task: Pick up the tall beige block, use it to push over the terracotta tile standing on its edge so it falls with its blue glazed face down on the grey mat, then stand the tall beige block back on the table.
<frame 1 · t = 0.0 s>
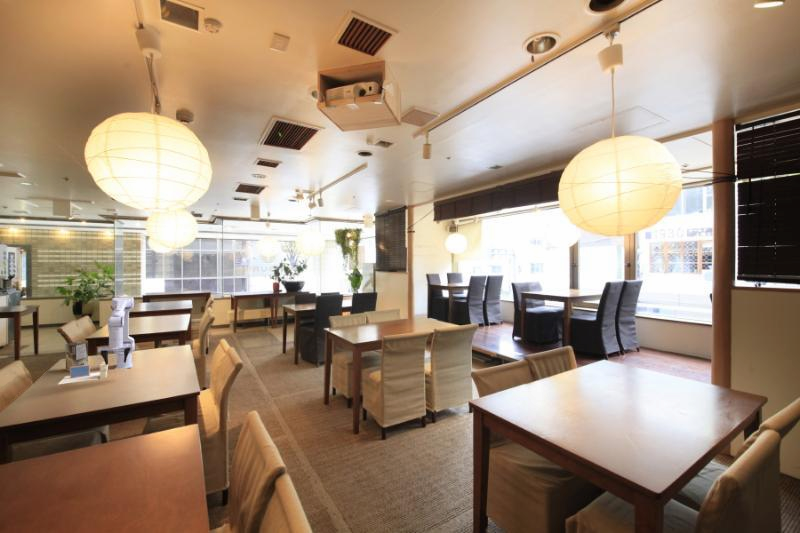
hand: (116, 363, 183), 10 cm above the table, fingers open, 7 cm apart
mat: (81, 378, 187), on the table
tall beige block: (103, 377, 190), on the table
coffee box: (76, 370, 201), on the table
tile: (80, 376, 189), resting on mat
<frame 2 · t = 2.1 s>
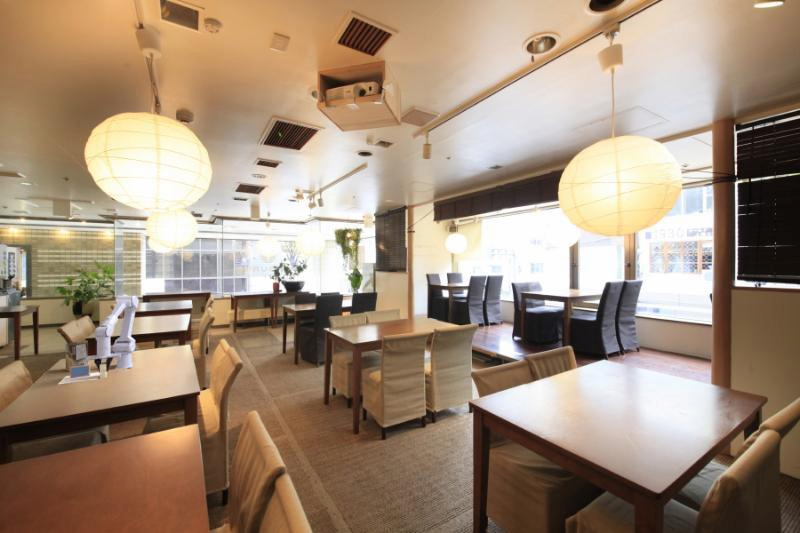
hand: (103, 371, 190), 3 cm above the table, fingers closed on tall beige block, 2 cm apart
tall beige block: (103, 377, 190), on the table, touching gripper
everything else where it was.
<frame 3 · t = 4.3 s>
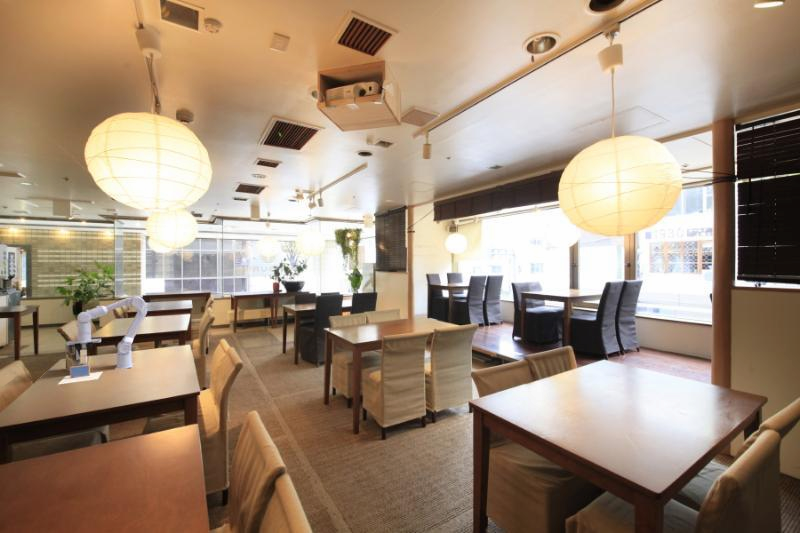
hand: (84, 356, 195), 10 cm above the table, fingers closed on tall beige block, 2 cm apart
tall beige block: (84, 362, 195), point 6 cm above the table, touching gripper
everything else where it was.
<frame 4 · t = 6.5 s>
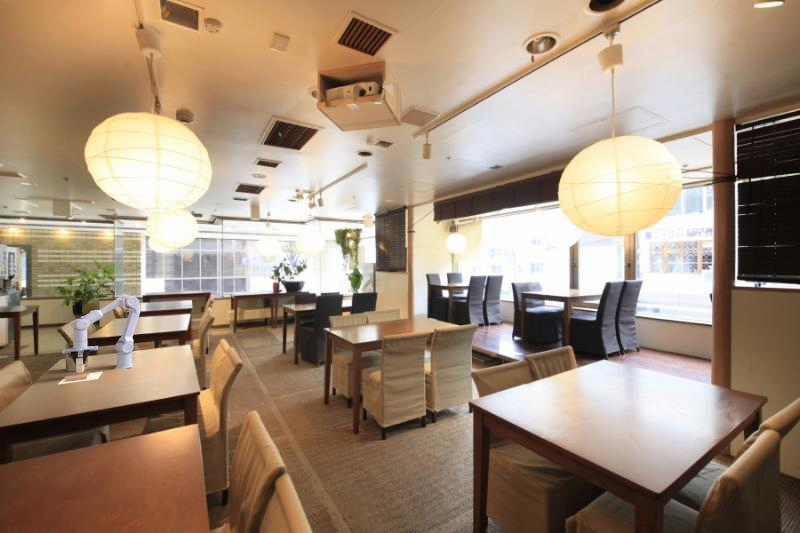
hand: (80, 364, 189), 7 cm above the table, fingers closed on tall beige block, 2 cm apart
tall beige block: (80, 371, 190), point 3 cm above the table, touching gripper
tile: (79, 374, 188), point 2 cm above the table, tilted 90°, touching mat
everything else where it was.
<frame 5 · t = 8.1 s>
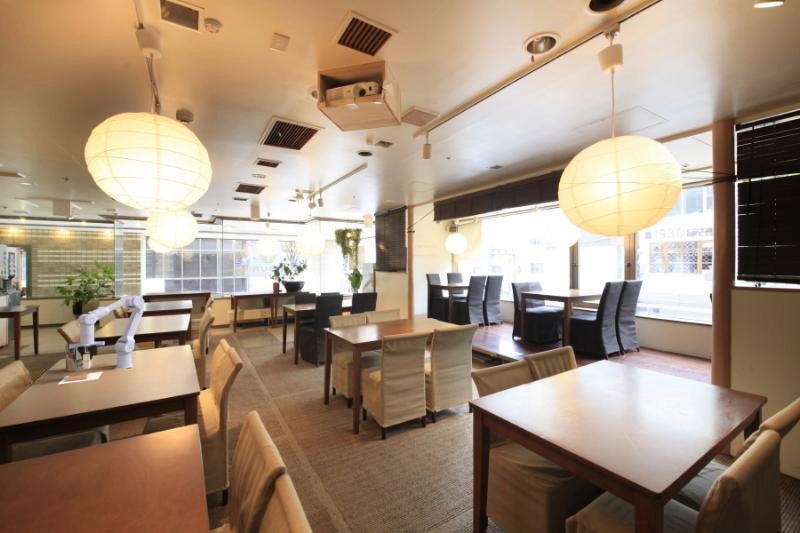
hand: (87, 359, 189), 10 cm above the table, fingers closed on tall beige block, 2 cm apart
tall beige block: (87, 367, 190), point 5 cm above the table, touching gripper
everything else where it was.
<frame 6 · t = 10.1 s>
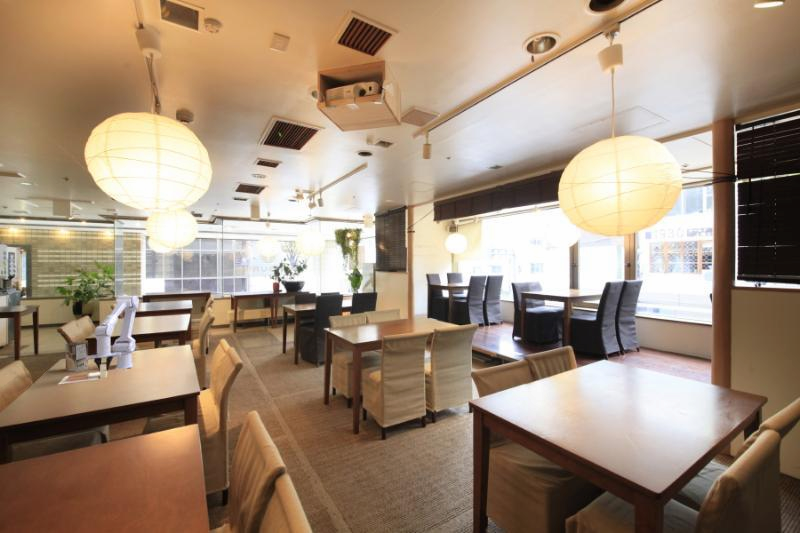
hand: (103, 370, 190), 4 cm above the table, fingers closed on tall beige block, 2 cm apart
tall beige block: (104, 376, 191), on the table, touching gripper
everything else where it was.
when the fingers open (4 cm above the table, at t = 10.1 s): tall beige block stays where it is, on the table.
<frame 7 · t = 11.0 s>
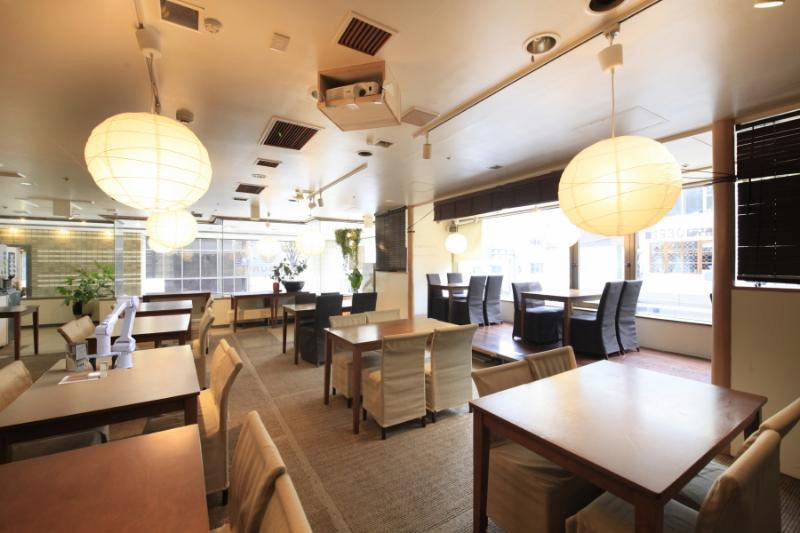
hand: (104, 369, 190), 4 cm above the table, fingers open, 7 cm apart
tall beige block: (104, 376, 191), on the table
everything else where it was.
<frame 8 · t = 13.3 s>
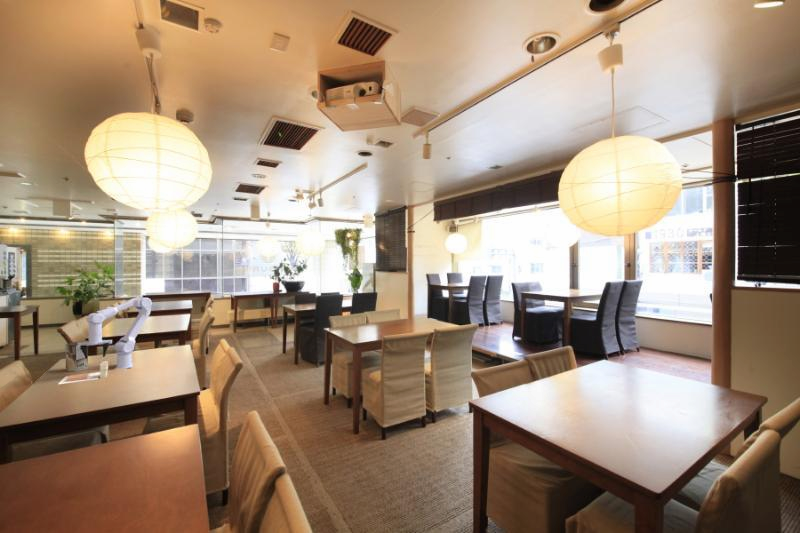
hand: (95, 357, 194), 10 cm above the table, fingers open, 7 cm apart
nothing on the table moved.
at the end: tile tilted 90°; tile inside the target area (0.7 cm from its centre), point 2.1 cm above the table; tall beige block inside the target area (0.6 cm from its centre), on the table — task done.
